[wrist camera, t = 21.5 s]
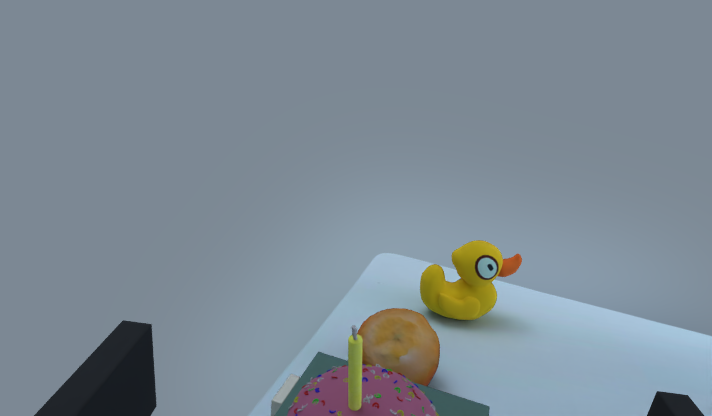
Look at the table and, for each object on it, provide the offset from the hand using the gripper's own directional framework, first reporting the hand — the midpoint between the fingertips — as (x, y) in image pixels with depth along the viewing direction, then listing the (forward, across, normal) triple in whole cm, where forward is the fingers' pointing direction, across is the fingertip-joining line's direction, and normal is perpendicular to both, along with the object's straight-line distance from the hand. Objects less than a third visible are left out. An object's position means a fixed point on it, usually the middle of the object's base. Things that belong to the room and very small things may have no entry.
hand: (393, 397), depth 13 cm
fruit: (+28, +3, -23) cm, 36 cm away
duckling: (+41, +11, -23) cm, 48 cm away
